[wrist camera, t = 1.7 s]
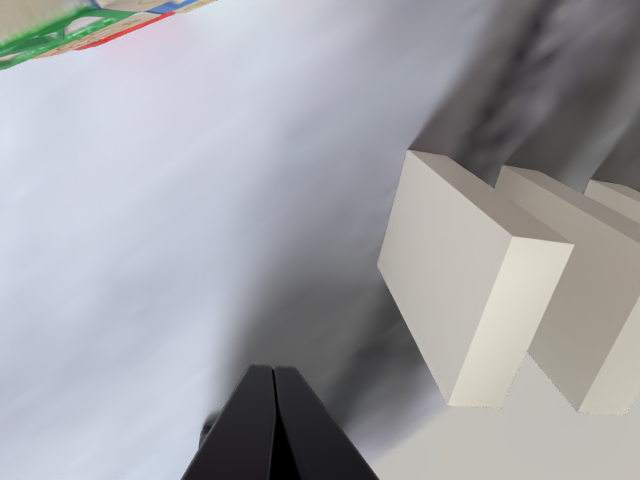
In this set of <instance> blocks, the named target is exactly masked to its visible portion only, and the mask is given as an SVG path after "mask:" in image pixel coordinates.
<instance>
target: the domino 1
mask: <svg viewBox="0 0 640 480" xmlns="http://www.w3.org/2000/svg"><path fill="white" fill-rule="evenodd" d="M574 245H575V244H573V243H572V242H571V241H569V240H568V239H566V238H565V237H563V236H562V235H560V234H559V233H558V232H556V231H555V230H553V229H552V228H550V227H549V226H547V225H546V224H544V223H543V222H542V221H540V220H539V219H537V218H536V217H534V216H533V215H531V214H530V213H529V212H527V211H526V210H524V209H523V208H521V207H520V206H518V205H517V204H516V203H514V202H513V201H511V200H510V199H508V198H507V197H505V196H504V195H503V194H501V193H500V192H498V191H497V190H495V189H494V188H492V187H491V186H490V185H488V184H487V183H485V182H484V181H482V180H481V179H479V178H478V177H476V176H475V175H474V174H472V173H471V172H469V171H468V170H466V169H465V168H463V167H462V166H461V165H459V164H458V163H456V162H455V161H453V160H452V159H450V158H449V157H448V156H445V155H439V154H433V153H427V152H421V151H414V150H407V153H406V157H405V161H404V165H403V168H402V172H401V176H400V180H399V183H398V187H397V191H396V195H395V198H394V202H393V206H392V210H391V214H390V217H389V221H388V225H387V229H386V232H385V236H384V240H383V244H382V247H381V251H380V255H379V259H378V262H377V267H378V269H379V271H380V272H381V274H382V276H383V278H384V280H385V282H386V284H387V286H388V288H389V290H390V292H391V294H392V296H393V298H394V300H395V302H396V304H397V306H398V308H399V310H400V312H401V314H402V316H403V318H404V320H405V322H406V324H407V326H408V328H409V330H410V332H411V334H412V336H413V338H414V340H415V342H416V344H417V346H418V348H419V350H420V352H421V354H422V356H423V358H424V360H425V362H426V364H427V366H428V368H429V370H430V372H431V374H432V376H433V378H434V380H435V382H436V384H437V386H438V388H439V390H440V392H441V394H442V396H443V398H444V400H445V402H446V404H447V406H466V407H485V408H502V406H503V403H504V401H505V399H506V397H507V395H508V392H509V390H510V388H511V386H512V384H513V381H514V379H515V377H516V375H517V372H518V370H519V368H520V366H521V363H522V361H523V359H524V357H525V355H526V352H527V350H528V348H529V346H530V343H531V341H532V339H533V337H534V334H535V332H536V330H537V328H538V326H539V323H540V321H541V319H542V317H543V314H544V312H545V310H546V308H547V305H548V303H549V301H550V299H551V297H552V294H553V292H554V290H555V288H556V285H557V283H558V281H559V279H560V277H561V274H562V272H563V270H564V268H565V265H566V263H567V261H568V259H569V256H570V254H571V252H572V250H573V248H574Z"/></svg>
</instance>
